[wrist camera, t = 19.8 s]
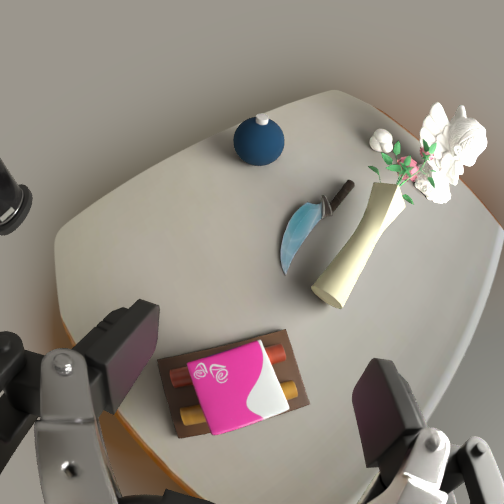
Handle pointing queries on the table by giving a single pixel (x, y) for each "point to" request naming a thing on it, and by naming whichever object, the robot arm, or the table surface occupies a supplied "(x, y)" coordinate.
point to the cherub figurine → (448, 150)
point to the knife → (308, 223)
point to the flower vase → (369, 228)
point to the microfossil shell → (381, 141)
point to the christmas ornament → (258, 140)
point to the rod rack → (175, 368)
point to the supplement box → (237, 388)
